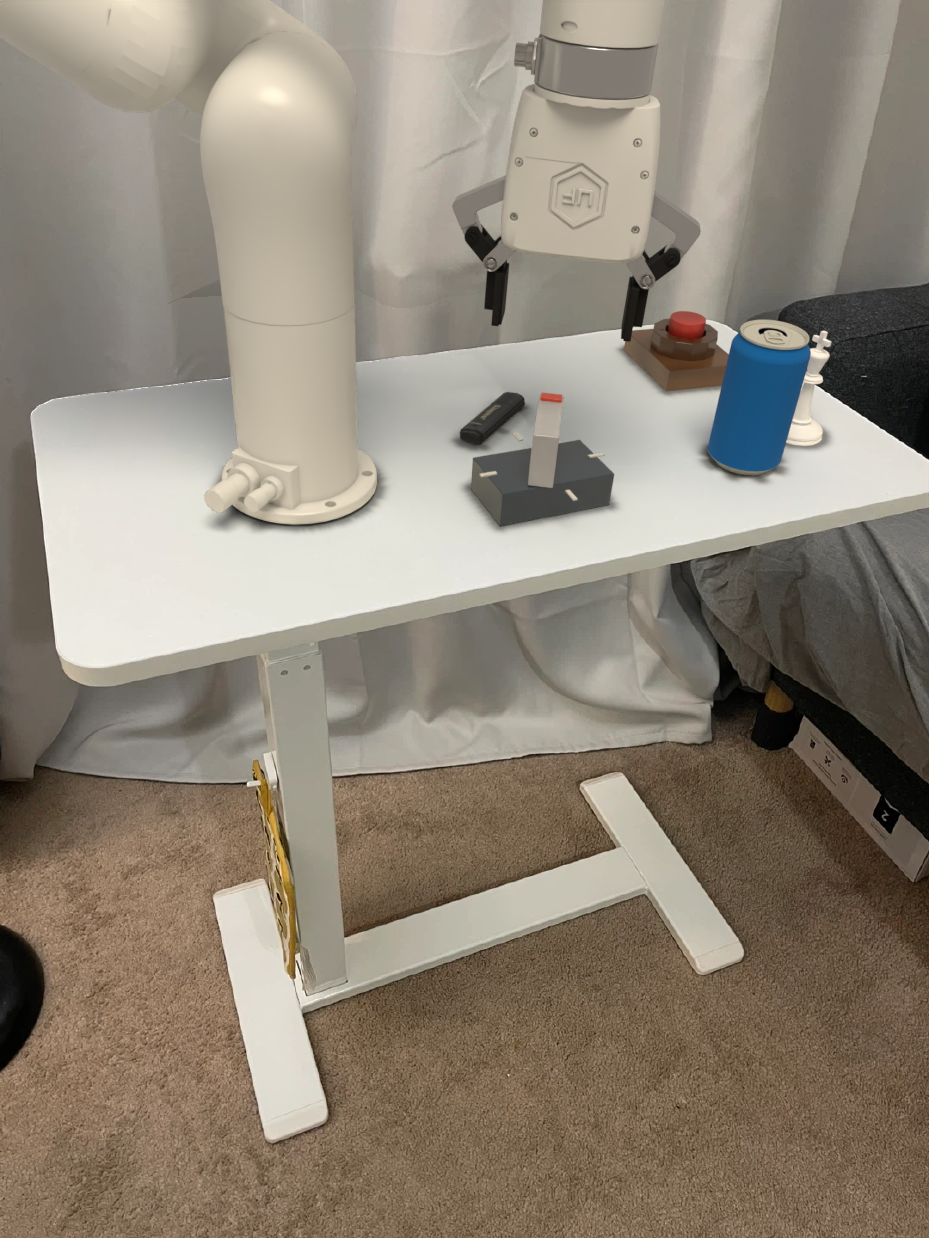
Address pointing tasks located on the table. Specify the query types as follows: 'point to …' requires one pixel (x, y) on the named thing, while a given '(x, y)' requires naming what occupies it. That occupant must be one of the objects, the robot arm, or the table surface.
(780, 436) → the beverage can
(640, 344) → the button block
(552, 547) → the table surface
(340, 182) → the robot arm
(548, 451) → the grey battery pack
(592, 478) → the dark grey marked platform
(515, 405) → the usb stick
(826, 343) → the chess piece
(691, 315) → the button
